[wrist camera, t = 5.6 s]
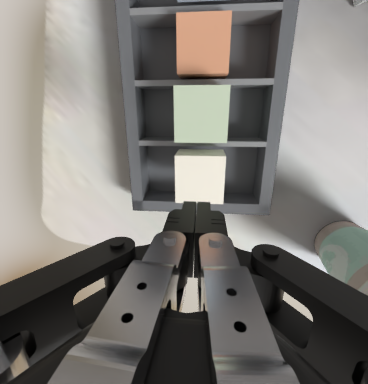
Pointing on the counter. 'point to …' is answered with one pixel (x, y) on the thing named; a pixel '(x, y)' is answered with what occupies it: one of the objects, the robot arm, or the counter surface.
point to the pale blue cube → (195, 0)
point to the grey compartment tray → (237, 77)
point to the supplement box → (358, 2)
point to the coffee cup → (345, 253)
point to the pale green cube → (201, 113)
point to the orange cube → (203, 44)
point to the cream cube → (200, 175)
